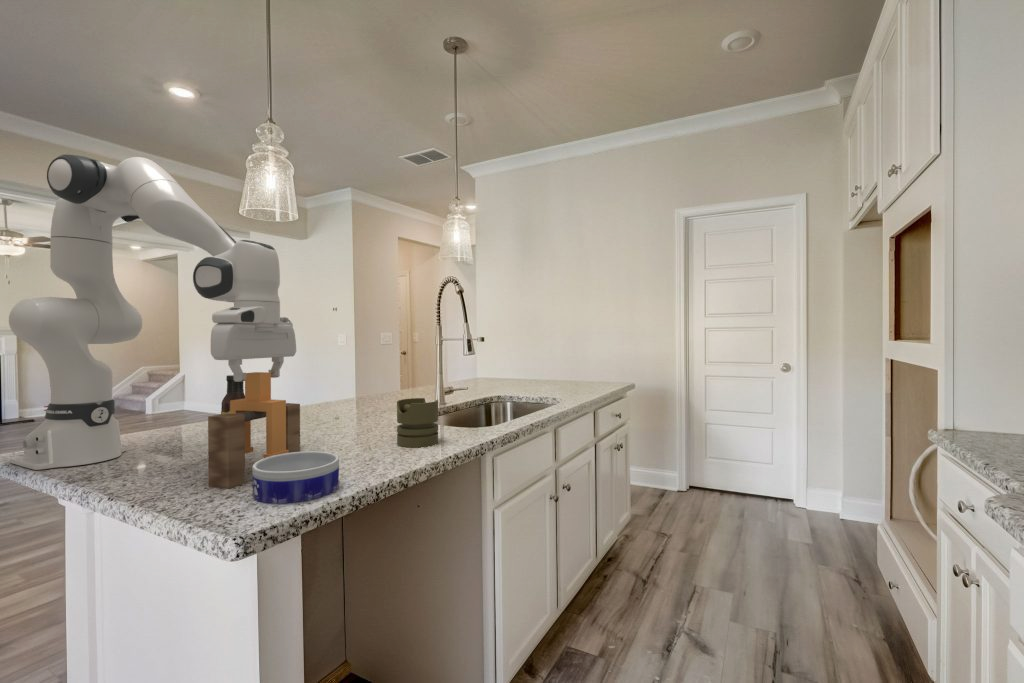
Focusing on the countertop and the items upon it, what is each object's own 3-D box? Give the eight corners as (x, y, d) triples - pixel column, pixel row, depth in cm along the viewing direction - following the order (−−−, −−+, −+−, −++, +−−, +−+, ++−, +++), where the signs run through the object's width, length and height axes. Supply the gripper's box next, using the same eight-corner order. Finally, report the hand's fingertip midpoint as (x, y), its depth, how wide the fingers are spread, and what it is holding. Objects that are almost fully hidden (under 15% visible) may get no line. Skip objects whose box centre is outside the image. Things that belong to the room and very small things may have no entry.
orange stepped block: (227, 456, 102) (227, 373, 101) (246, 450, 106) (245, 371, 106) (271, 460, 98) (271, 374, 98) (288, 454, 103) (288, 372, 103)
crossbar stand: (208, 486, 93) (208, 416, 93) (282, 461, 113) (282, 402, 113) (228, 488, 92) (228, 417, 92) (300, 462, 111) (299, 403, 111)
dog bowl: (354, 489, 92) (354, 459, 92) (273, 511, 81) (273, 476, 81) (315, 475, 102) (315, 447, 102) (239, 492, 90) (239, 461, 90)
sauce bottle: (235, 454, 119) (234, 376, 119) (214, 453, 120) (213, 376, 120) (254, 448, 125) (253, 374, 125) (234, 447, 127) (233, 374, 126)
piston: (420, 397, 140) (446, 400, 132) (420, 437, 140) (446, 442, 133) (388, 401, 131) (414, 404, 124) (388, 444, 131) (414, 450, 124)
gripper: (280, 317, 113) (281, 375, 113) (204, 313, 93) (204, 383, 93) (303, 317, 111) (303, 375, 111) (229, 313, 92) (230, 384, 92)
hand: (257, 379), depth 102 cm, fingers open, 8 cm apart
